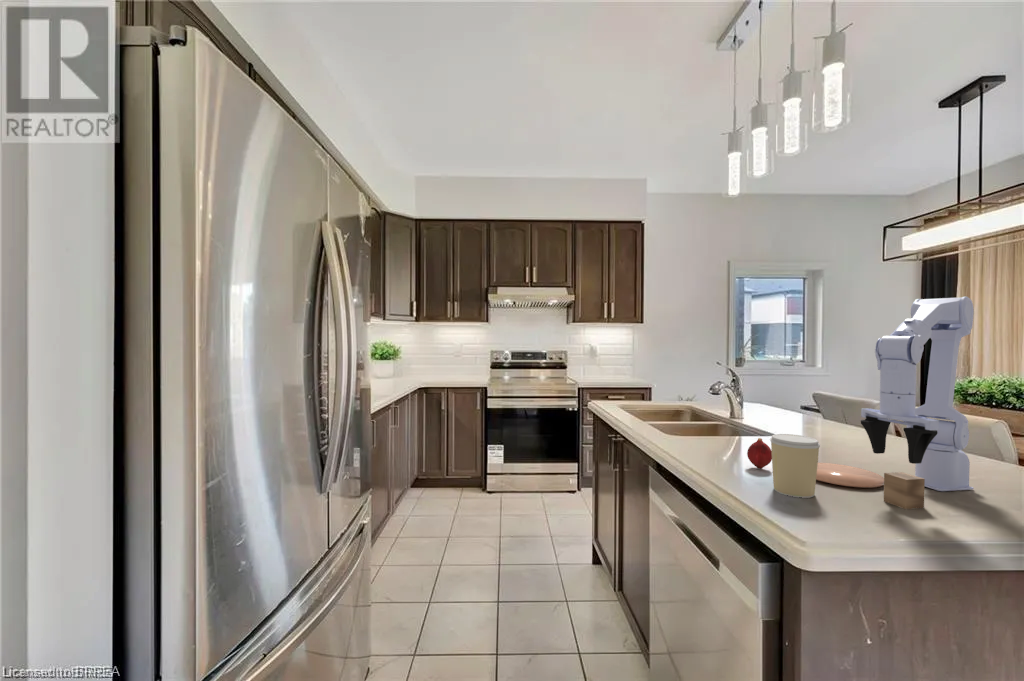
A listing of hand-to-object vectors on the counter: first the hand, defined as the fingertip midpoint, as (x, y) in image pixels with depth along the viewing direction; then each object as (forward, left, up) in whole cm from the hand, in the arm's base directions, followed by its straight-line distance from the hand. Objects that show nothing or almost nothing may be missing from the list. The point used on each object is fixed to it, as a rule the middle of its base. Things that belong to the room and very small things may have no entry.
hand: (896, 457), depth 95 cm
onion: (+11, -26, -10) cm, 30 cm away
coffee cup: (+16, -9, -10) cm, 21 cm away
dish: (-3, -16, -9) cm, 19 cm away
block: (-1, +1, -10) cm, 10 cm away
